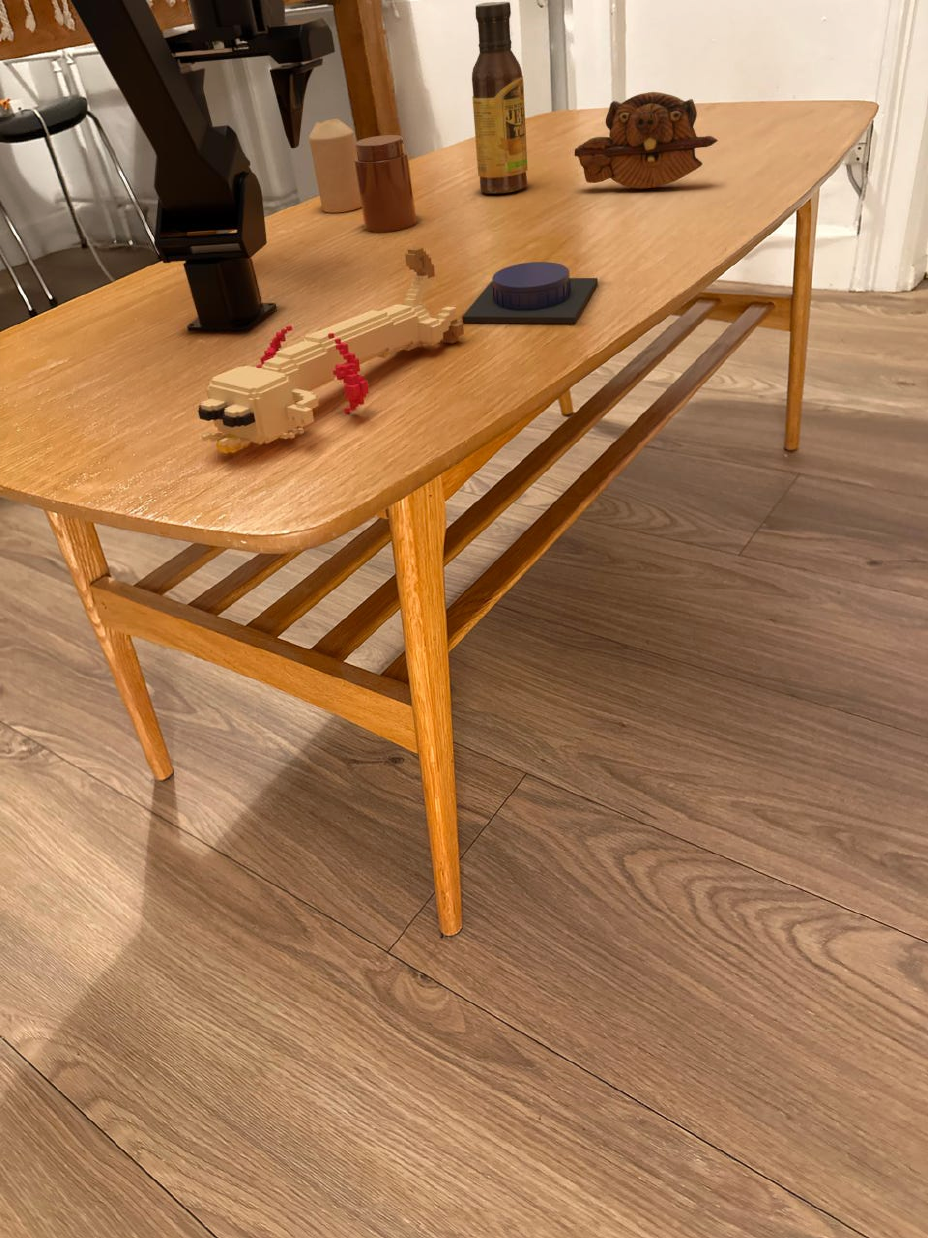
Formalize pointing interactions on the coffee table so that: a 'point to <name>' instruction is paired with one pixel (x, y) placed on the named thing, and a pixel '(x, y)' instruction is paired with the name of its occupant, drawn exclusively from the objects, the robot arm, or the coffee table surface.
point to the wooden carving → (645, 142)
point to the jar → (385, 183)
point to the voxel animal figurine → (320, 366)
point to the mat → (556, 314)
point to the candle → (335, 165)
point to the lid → (531, 285)
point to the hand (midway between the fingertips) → (253, 149)
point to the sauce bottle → (498, 104)
